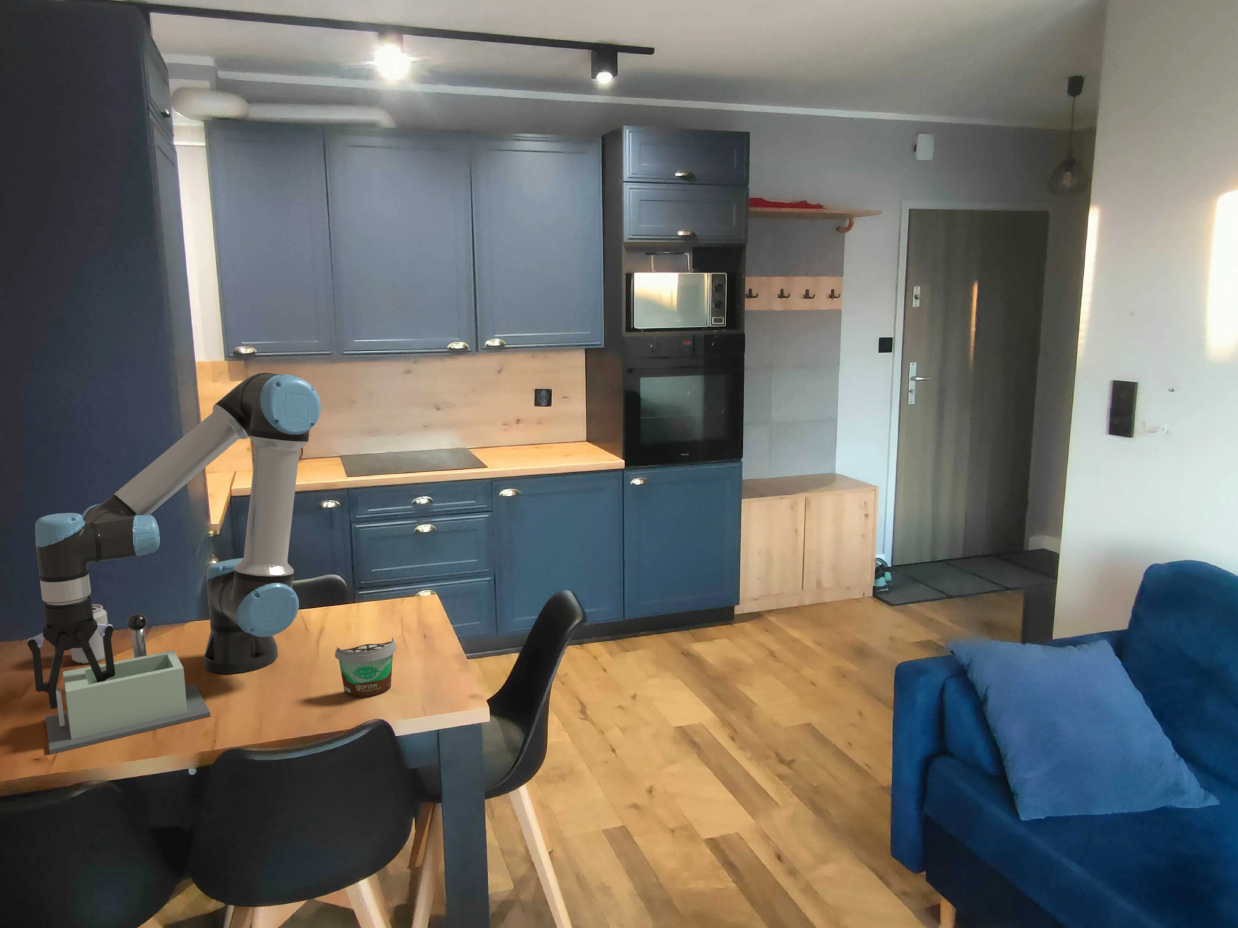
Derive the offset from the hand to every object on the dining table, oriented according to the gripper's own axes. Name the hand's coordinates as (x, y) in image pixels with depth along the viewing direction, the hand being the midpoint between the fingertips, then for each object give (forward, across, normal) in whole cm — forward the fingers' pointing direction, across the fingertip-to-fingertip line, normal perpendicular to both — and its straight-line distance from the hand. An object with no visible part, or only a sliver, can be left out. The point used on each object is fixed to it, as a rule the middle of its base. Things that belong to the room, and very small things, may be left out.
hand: (80, 718), depth 162 cm
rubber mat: (+2, -8, 0) cm, 8 cm away
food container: (+2, -50, +15) cm, 52 cm away
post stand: (+2, -12, -18) cm, 22 cm away
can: (+2, -4, -38) cm, 39 cm away
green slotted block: (+1, -8, 0) cm, 8 cm away
